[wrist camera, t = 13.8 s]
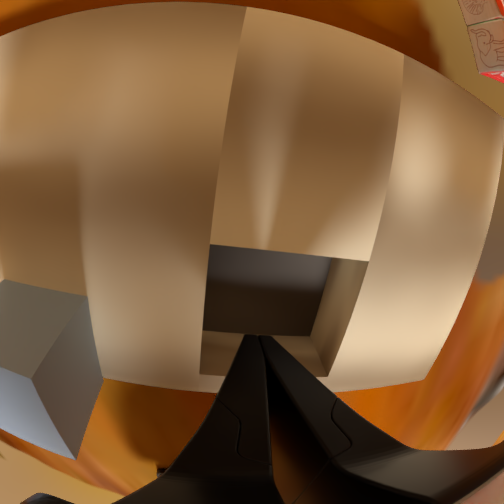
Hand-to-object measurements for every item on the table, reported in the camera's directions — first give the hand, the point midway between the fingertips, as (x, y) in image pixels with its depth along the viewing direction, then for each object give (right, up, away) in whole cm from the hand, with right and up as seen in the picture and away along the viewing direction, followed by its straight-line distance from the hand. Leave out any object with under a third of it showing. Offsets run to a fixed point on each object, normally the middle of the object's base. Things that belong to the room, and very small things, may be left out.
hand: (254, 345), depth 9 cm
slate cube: (-8, 0, 0) cm, 8 cm away
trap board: (-5, +5, +1) cm, 8 cm away
